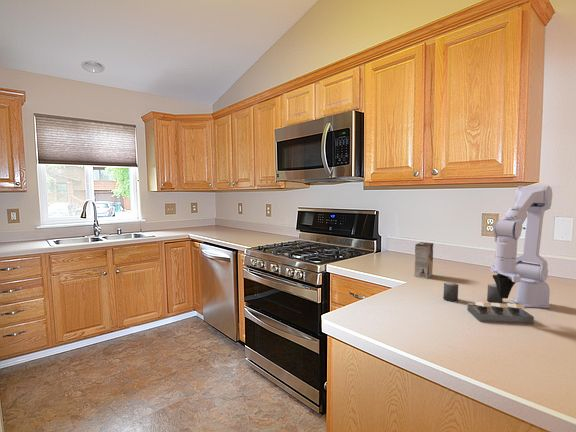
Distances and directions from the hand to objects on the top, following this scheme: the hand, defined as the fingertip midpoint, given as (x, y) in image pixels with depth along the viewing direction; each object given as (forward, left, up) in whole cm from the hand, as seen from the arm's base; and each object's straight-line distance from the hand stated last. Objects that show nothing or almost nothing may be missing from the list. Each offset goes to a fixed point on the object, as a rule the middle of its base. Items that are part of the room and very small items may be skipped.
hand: (503, 297), depth 108 cm
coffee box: (+11, -53, -8) cm, 55 cm away
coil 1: (+10, -18, -7) cm, 22 cm away
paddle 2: (-5, -2, -3) cm, 6 cm away
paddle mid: (0, -2, -3) cm, 4 cm away
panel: (0, -2, -7) cm, 8 cm away
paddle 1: (+5, -2, -3) cm, 6 cm away
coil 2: (-6, -18, -7) cm, 21 cm away
